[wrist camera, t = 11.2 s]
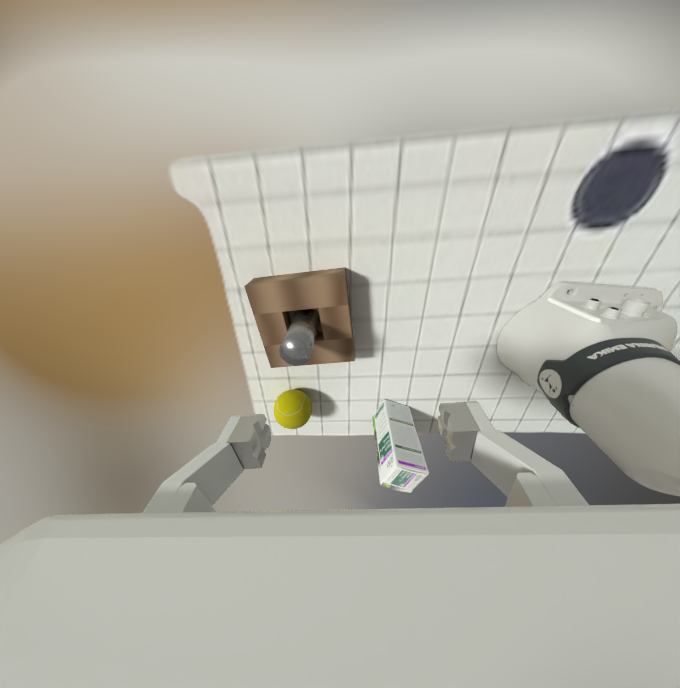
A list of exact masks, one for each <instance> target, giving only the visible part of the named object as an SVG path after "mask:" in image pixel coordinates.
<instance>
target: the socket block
mask: <svg viewBox="0 0 680 688" xmlns="http://www.w3.org/2000/svg"><path fill="white" fill-rule="evenodd" d="M245 289H246V292H247V296H248V299H249V302H250V305H251V308H252V311H253V314H254V317H255V320H256V323H257V326H258V329H259V332H260V335H261V338H262V341H263V345H264V348H265V351H266V354H267V357H268V360H269V363H270V366H271V368H275V367H287V366H294V365H290V364H288V363H286V362H285V361H284V360H283V359H282V358H281V356H280V354H279V348H280V345H281V343H282V341H283V339H284V337H285V335H286V333H287V331H288V329H289V327H290V325H291V323H292V321H293V319H294V317H295V315H296V313H297V312H298V311H299V310H304V309H314V310H315V311H316V312H317V313H318V314H319V317H320V323H319V327H318V330H317V334H316V338H315V341H314V345H313V349H312V352H311V356H310V359H309V360H308V362H307V363H305V364H303V365H312V364H325V363H337V362H350V361H355V356H354V340H353V332H352V323H351V314H350V305H349V296H348V288H347V279H346V270H345V268H337V269H328V270H320V271H311V272H303V273H294V274H286V275H277V276H269V277H261V278H254V279H253V280H252V281H250V282H249V283H248V284H247V285H246V286H245Z"/></svg>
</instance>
